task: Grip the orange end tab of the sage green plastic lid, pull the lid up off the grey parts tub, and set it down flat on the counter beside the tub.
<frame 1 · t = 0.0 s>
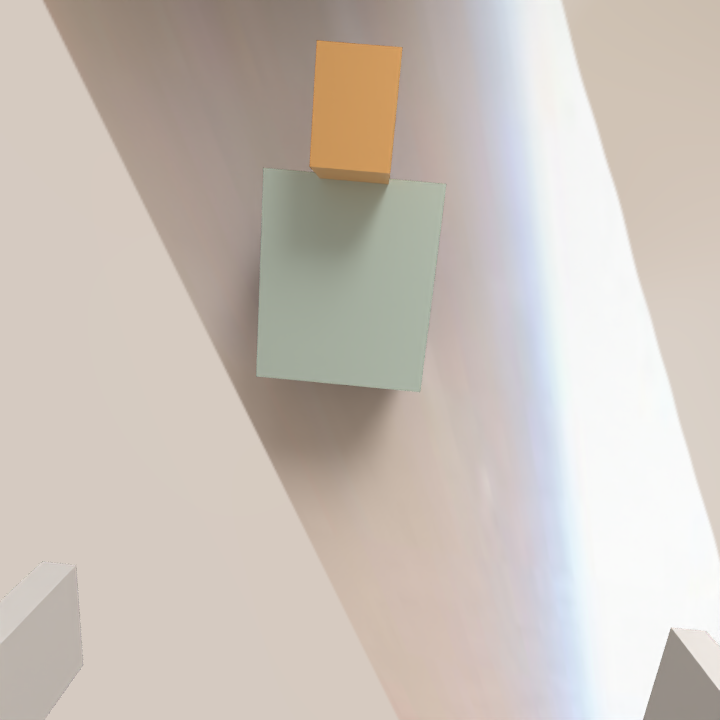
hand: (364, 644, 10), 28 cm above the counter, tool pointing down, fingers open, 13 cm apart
lid: (347, 283, 30), point 6 cm above the counter, touching tub
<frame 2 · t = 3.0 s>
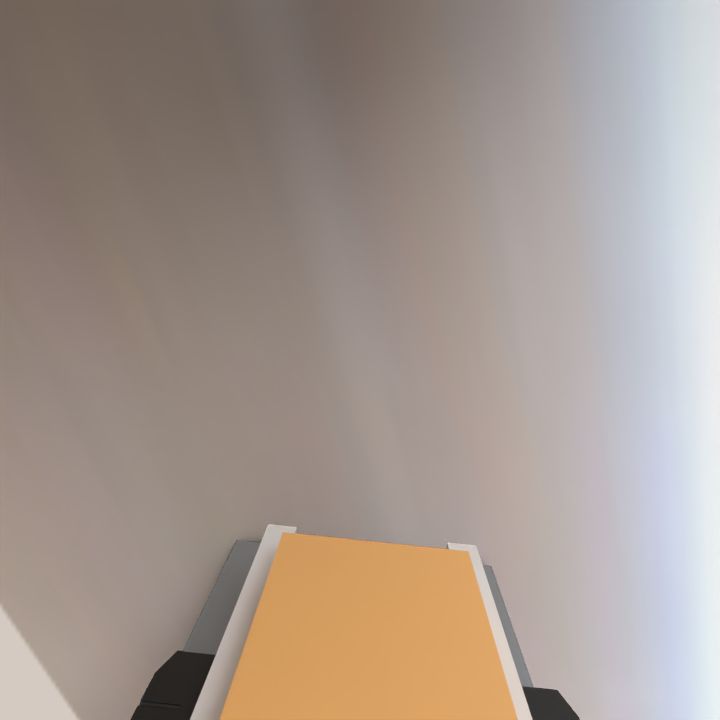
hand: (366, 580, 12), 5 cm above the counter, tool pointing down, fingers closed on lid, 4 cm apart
tub: (350, 675, 19), on the counter
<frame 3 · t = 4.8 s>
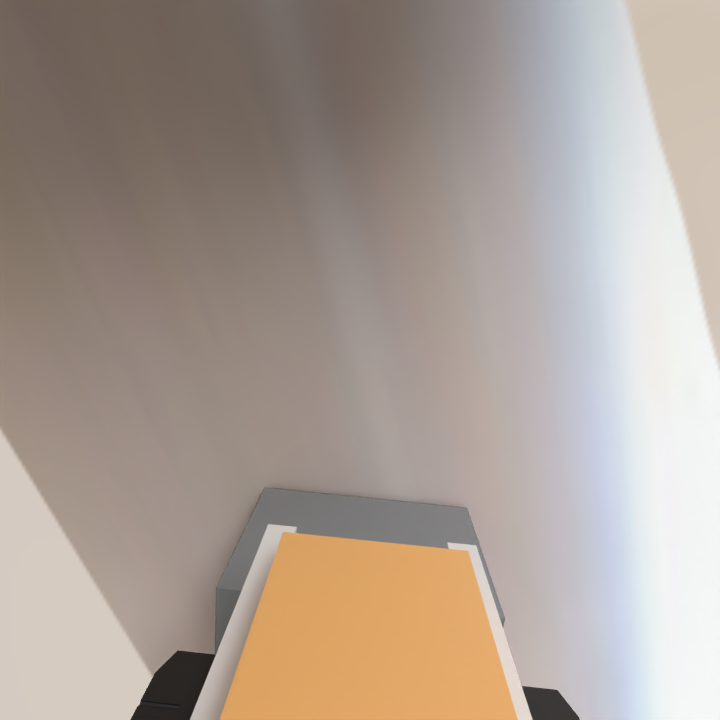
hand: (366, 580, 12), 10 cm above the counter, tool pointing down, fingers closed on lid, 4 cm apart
tub: (355, 600, 24), on the counter
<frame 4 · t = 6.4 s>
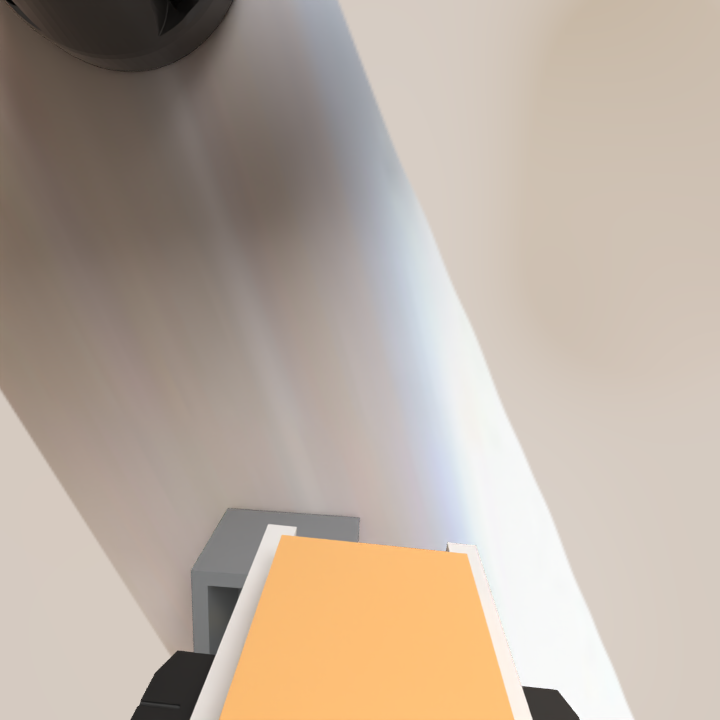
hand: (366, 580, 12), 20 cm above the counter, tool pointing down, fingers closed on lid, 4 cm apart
tub: (291, 581, 36), on the counter
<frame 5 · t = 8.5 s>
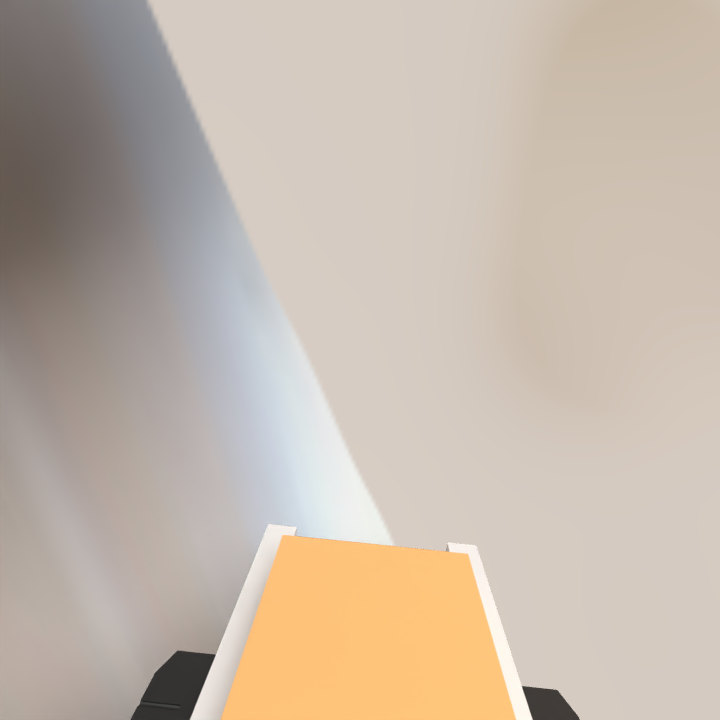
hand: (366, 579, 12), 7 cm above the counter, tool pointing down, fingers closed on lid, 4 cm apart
when the fingers open (2 cm above the counter, at t = 9.9 s): lid drops 3 cm, on the counter.
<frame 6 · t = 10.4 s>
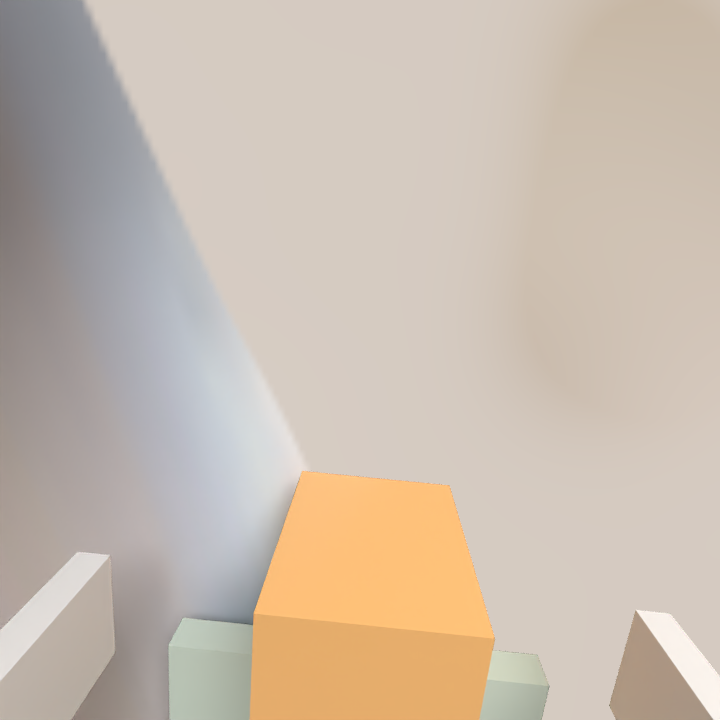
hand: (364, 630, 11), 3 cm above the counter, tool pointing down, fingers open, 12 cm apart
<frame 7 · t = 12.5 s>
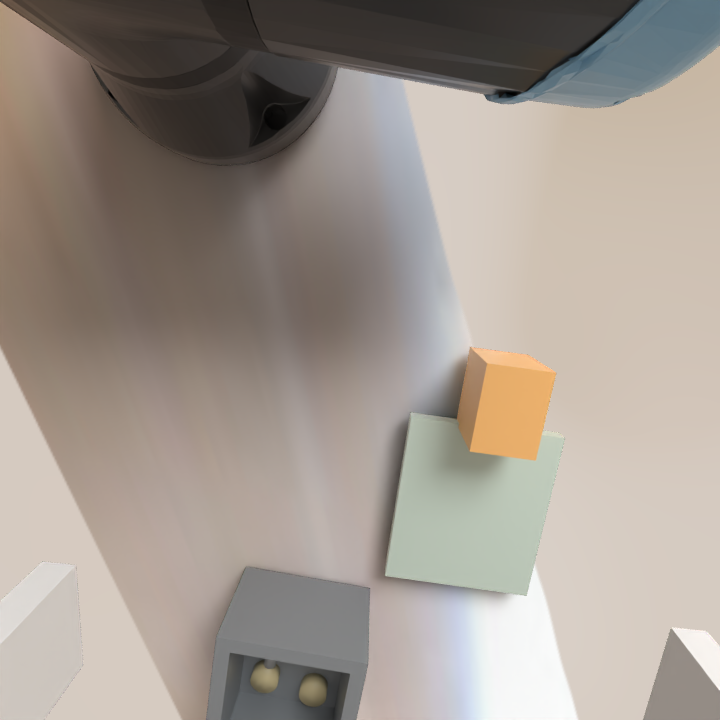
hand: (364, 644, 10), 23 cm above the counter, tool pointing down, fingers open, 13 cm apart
tub: (297, 639, 38), on the counter
lid: (465, 495, 35), on the counter
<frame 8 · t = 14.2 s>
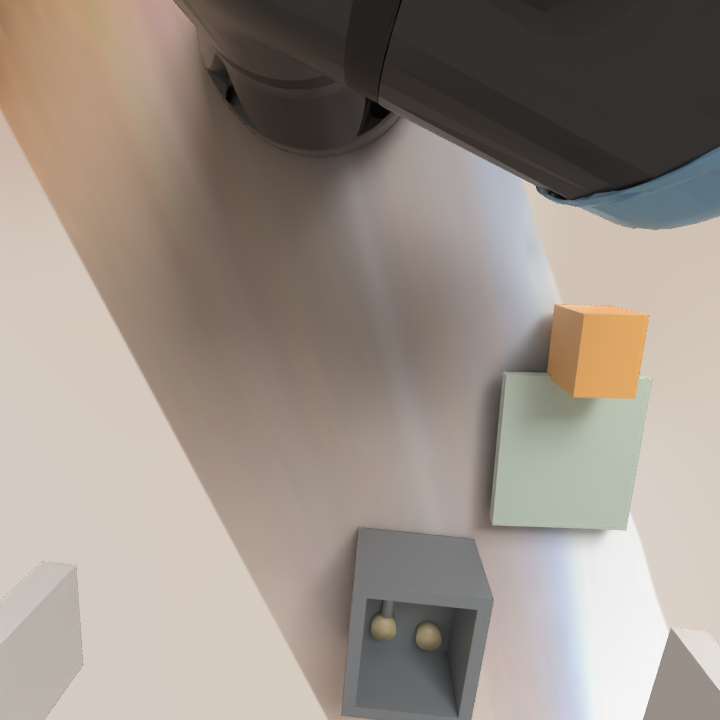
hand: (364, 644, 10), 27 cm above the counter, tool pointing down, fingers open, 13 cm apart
tub: (408, 592, 41), on the counter
lid: (558, 444, 37), on the counter
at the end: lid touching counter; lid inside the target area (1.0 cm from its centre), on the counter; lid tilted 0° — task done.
